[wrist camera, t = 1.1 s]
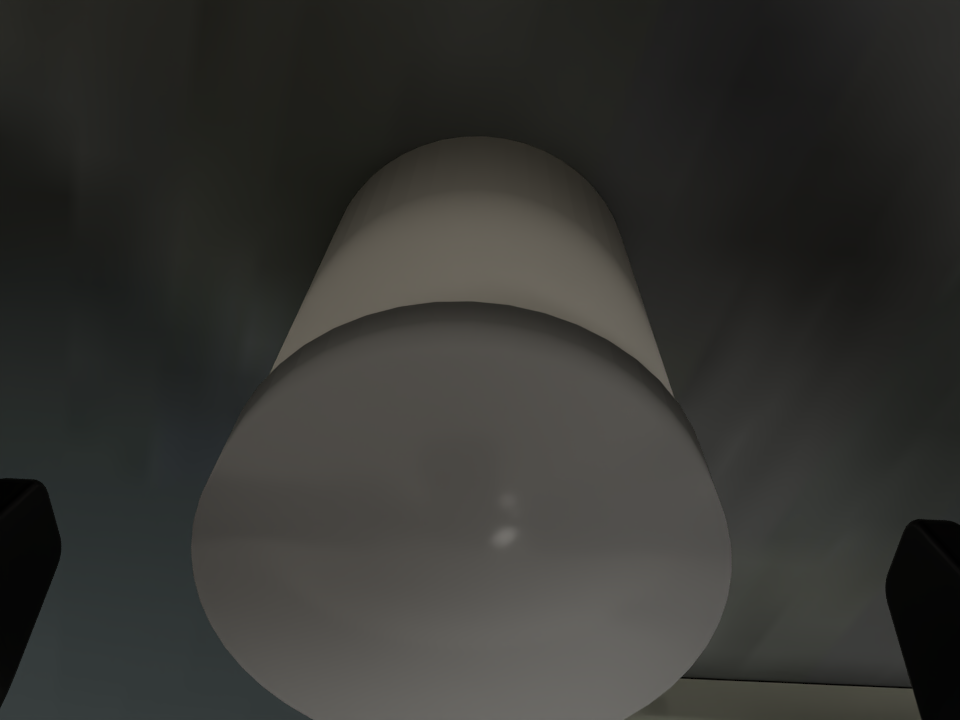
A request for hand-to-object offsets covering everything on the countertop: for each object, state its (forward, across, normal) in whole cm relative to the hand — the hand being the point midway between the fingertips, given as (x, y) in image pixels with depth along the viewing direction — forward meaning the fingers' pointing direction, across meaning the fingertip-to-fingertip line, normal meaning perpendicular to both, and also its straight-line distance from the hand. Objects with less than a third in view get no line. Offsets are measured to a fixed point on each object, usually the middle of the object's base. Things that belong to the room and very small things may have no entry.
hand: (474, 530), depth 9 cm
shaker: (+6, 0, 0) cm, 6 cm away
